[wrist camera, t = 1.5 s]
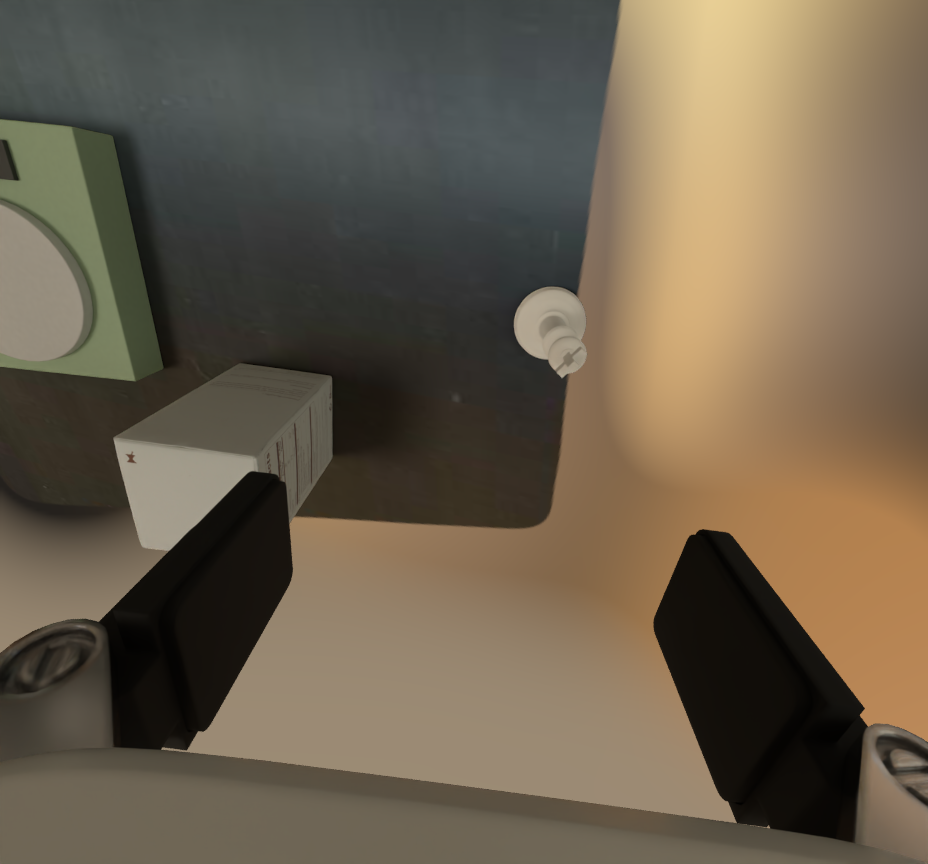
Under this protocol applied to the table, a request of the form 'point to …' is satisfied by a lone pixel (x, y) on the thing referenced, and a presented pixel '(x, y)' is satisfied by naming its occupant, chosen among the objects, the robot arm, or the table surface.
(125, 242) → the scale
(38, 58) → the table surface
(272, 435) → the white packaging box
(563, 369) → the chess piece
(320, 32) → the table surface
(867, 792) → the robot arm
